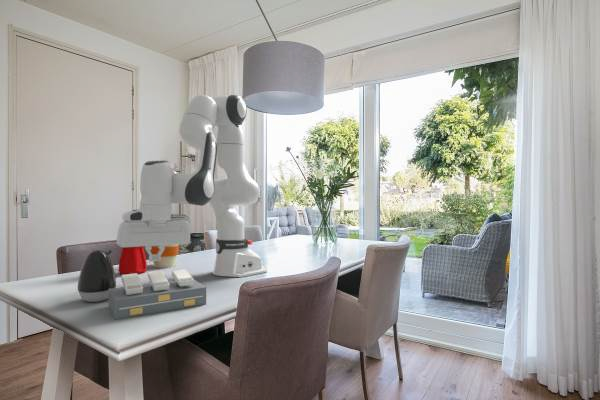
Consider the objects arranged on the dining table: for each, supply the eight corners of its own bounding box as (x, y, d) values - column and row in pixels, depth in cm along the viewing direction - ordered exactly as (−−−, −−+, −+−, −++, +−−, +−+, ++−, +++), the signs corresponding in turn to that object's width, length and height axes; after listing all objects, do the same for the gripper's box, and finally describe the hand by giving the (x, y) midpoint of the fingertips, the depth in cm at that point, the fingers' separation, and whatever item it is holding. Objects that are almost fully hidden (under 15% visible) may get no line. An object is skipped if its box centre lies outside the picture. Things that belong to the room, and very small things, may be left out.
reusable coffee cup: (166, 269, 150) (166, 234, 150) (143, 267, 155) (143, 233, 155) (185, 264, 162) (185, 232, 162) (163, 262, 167) (164, 231, 166)
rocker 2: (161, 275, 107) (162, 270, 107) (169, 289, 100) (169, 283, 100) (147, 276, 105) (148, 271, 104) (154, 291, 98) (154, 285, 97)
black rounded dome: (124, 296, 111) (124, 248, 111) (98, 306, 101) (98, 253, 101) (96, 293, 113) (97, 246, 113) (68, 303, 103) (69, 251, 103)
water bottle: (130, 269, 151) (130, 211, 150) (150, 271, 147) (150, 211, 146) (111, 273, 142) (112, 211, 142) (132, 276, 138) (132, 212, 138)
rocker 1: (136, 277, 103) (137, 272, 103) (142, 292, 96) (143, 287, 96) (121, 279, 101) (121, 274, 100) (126, 294, 94) (126, 289, 93)
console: (192, 293, 114) (192, 275, 114) (206, 304, 104) (206, 284, 103) (108, 306, 101) (108, 285, 101) (115, 319, 90) (115, 296, 90)
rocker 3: (184, 273, 111) (185, 268, 111) (193, 284, 104) (194, 279, 104) (171, 275, 109) (172, 270, 108) (180, 286, 101) (180, 281, 101)
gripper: (187, 213, 113) (186, 256, 113) (116, 214, 102) (115, 261, 101) (193, 214, 108) (192, 259, 108) (119, 214, 96) (118, 265, 96)
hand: (154, 260), depth 105 cm, fingers closed
